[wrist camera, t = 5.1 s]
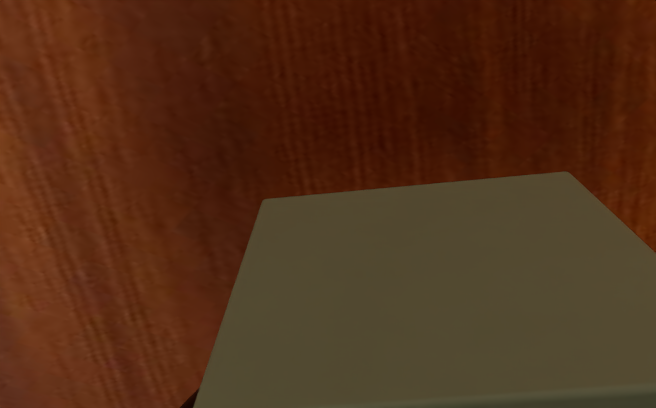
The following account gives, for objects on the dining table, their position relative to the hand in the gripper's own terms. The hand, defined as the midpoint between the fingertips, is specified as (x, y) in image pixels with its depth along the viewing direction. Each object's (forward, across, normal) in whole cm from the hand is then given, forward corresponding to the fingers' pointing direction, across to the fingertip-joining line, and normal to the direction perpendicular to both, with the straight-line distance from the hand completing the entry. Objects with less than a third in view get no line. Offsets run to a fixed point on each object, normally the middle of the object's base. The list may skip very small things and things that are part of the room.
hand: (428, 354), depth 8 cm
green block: (+1, 0, 0) cm, 1 cm away
